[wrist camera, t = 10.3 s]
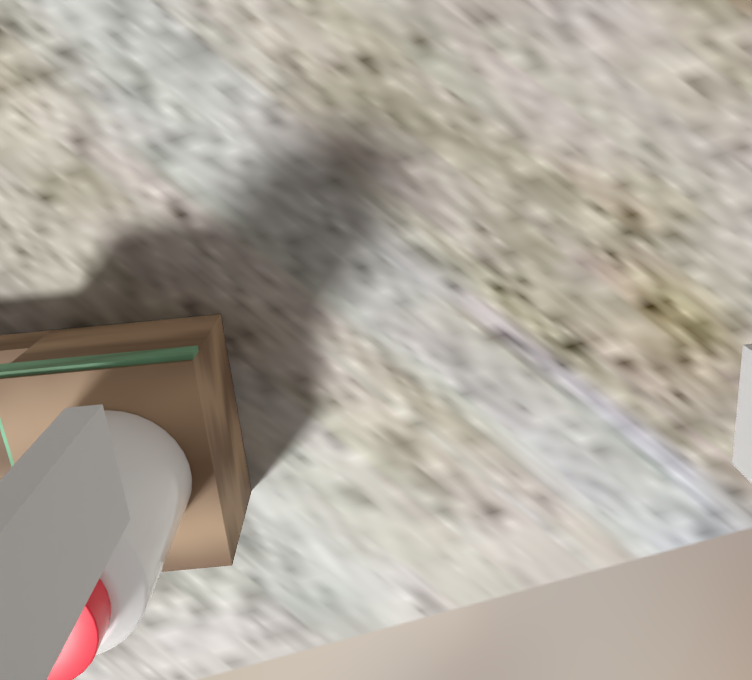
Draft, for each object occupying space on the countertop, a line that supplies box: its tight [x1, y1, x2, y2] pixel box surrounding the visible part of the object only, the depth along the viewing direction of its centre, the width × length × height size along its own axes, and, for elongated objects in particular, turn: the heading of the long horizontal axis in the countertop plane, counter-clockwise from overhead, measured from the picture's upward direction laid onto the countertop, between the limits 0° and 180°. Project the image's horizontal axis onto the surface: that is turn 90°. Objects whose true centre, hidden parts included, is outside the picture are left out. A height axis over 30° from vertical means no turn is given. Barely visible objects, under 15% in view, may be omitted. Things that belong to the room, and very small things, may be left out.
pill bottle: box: [47, 410, 192, 680], centre depth 31 cm, size 8×8×11 cm
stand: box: [0, 314, 251, 572], centre depth 40 cm, size 12×20×8 cm, turn 95°
